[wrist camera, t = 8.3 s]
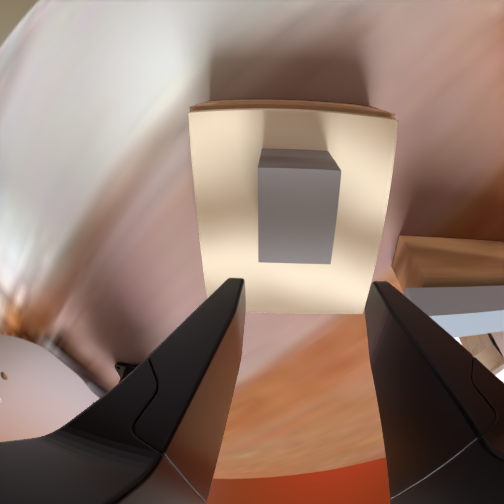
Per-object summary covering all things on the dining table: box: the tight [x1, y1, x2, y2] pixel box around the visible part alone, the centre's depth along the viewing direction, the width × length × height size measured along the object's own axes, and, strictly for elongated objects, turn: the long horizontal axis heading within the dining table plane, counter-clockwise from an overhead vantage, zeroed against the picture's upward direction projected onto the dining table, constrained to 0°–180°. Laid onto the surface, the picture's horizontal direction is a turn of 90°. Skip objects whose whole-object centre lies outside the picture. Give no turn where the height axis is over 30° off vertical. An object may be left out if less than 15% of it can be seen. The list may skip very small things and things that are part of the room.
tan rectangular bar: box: [392, 235, 504, 291], centre depth 19 cm, size 3×15×5 cm, turn 91°
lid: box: [188, 108, 398, 314], centre depth 15 cm, size 12×10×5 cm
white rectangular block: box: [455, 331, 504, 383], centre depth 23 cm, size 20×6×9 cm, turn 45°
